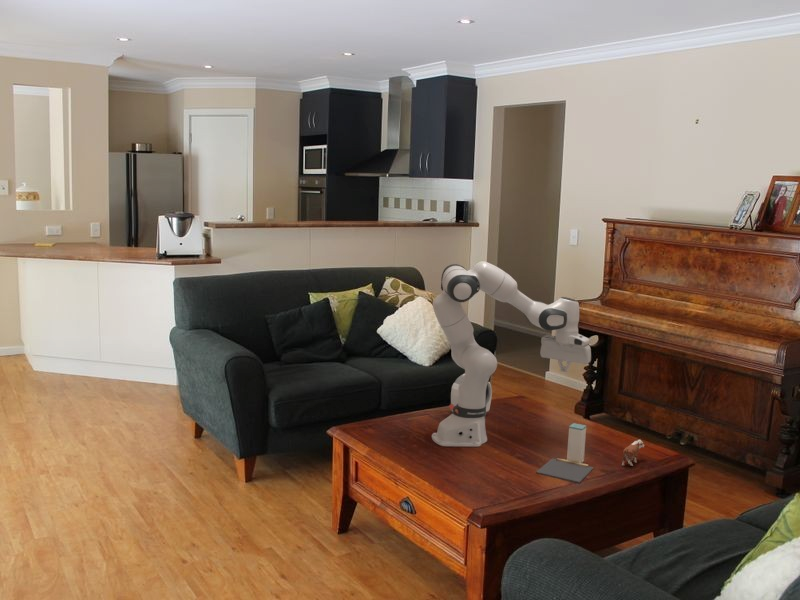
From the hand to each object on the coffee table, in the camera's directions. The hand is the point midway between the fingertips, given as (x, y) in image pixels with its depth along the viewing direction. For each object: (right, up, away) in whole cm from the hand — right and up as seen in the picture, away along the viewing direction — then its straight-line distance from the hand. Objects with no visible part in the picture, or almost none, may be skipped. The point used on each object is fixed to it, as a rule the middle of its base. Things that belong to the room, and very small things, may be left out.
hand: (564, 371), depth 311 cm
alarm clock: (-35, -23, +33) cm, 53 cm away
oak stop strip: (-2, -33, -22) cm, 39 cm away
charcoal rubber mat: (-6, -34, -29) cm, 45 cm away
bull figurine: (+22, -33, -18) cm, 44 cm away
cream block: (0, -32, -19) cm, 37 cm away
